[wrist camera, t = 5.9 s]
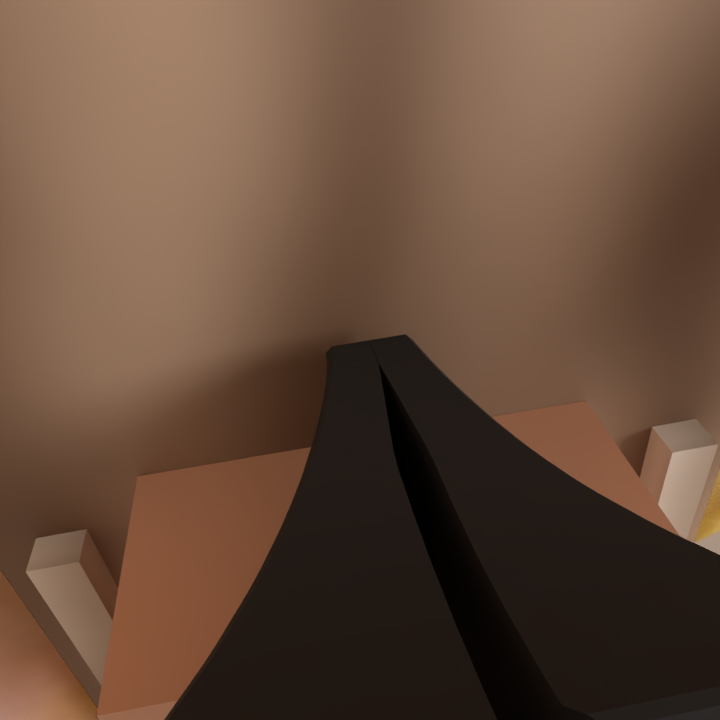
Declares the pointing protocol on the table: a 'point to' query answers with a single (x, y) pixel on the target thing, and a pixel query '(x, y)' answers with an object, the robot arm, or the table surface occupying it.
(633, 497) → the terracotta carton
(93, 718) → the table surface
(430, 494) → the robot arm
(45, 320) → the brown piece
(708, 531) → the table surface
